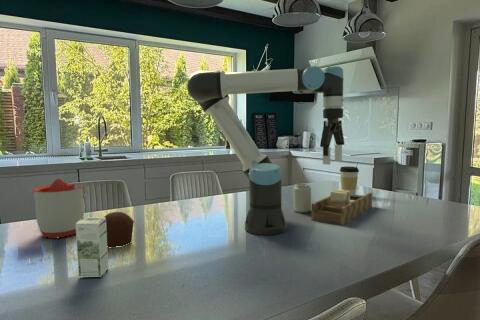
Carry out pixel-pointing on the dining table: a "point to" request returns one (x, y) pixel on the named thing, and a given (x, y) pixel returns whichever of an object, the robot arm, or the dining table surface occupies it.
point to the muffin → (118, 229)
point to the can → (302, 198)
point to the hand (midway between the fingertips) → (332, 162)
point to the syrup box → (92, 246)
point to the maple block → (340, 198)
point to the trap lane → (340, 209)
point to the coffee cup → (349, 179)
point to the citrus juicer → (58, 208)
